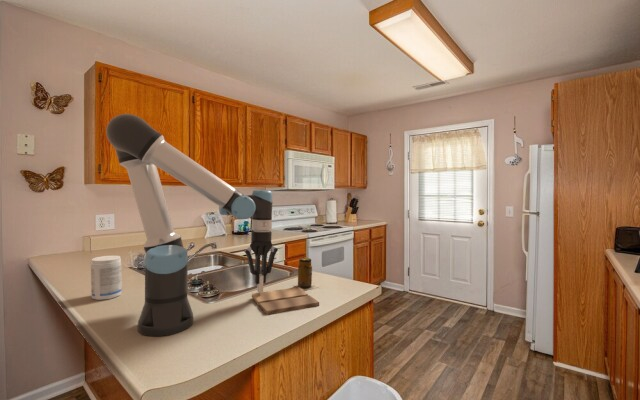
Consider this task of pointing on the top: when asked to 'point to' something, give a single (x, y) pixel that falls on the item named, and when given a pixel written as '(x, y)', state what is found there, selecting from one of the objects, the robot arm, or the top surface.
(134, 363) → the top surface
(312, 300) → the floor board
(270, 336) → the top surface
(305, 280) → the condiment
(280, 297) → the board
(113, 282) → the supplement tub
